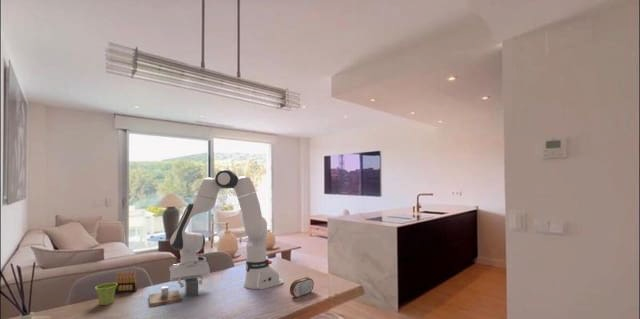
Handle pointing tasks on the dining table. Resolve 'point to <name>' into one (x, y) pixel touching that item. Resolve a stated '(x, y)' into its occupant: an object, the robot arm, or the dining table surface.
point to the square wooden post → (164, 291)
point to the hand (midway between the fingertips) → (191, 285)
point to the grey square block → (191, 287)
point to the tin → (301, 287)
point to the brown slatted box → (126, 282)
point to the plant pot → (106, 293)
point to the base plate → (158, 300)
